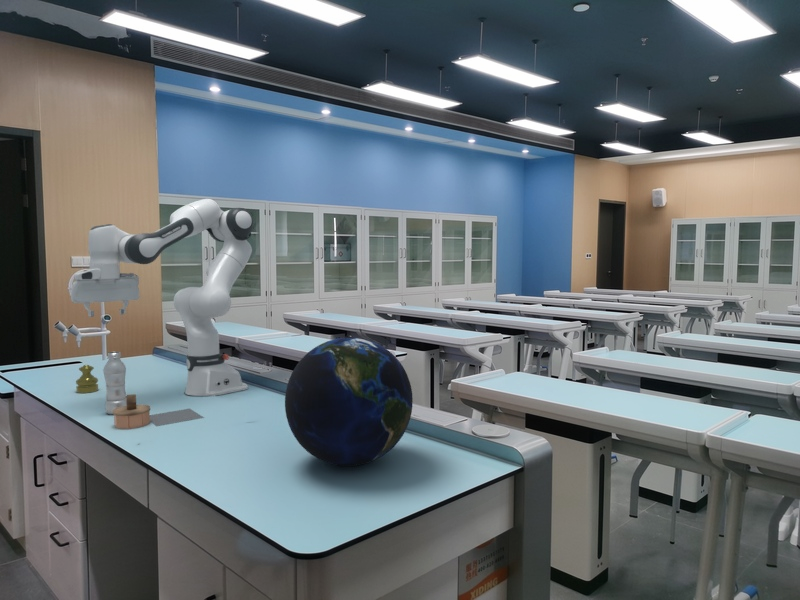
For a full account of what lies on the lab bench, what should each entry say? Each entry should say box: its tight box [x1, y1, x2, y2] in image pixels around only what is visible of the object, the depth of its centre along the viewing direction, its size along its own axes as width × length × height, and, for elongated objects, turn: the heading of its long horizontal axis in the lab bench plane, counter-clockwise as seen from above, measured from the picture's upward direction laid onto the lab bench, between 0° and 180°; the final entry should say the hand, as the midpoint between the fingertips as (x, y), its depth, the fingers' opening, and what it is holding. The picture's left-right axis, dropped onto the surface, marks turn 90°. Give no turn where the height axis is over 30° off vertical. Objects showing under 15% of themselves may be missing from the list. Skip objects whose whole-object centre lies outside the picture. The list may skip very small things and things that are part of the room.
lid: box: [112, 393, 151, 416], centre depth 169 cm, size 10×10×5 cm
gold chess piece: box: [75, 364, 99, 394], centre depth 216 cm, size 7×7×10 cm
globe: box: [284, 336, 413, 467], centre depth 136 cm, size 30×30×30 cm
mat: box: [149, 408, 205, 427], centre depth 177 cm, size 14×14×1 cm
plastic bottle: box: [102, 351, 127, 416], centre depth 182 cm, size 6×7×20 cm
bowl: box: [113, 411, 151, 430], centre depth 170 cm, size 9×9×4 cm
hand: (107, 315), depth 190 cm, fingers open, 8 cm apart
